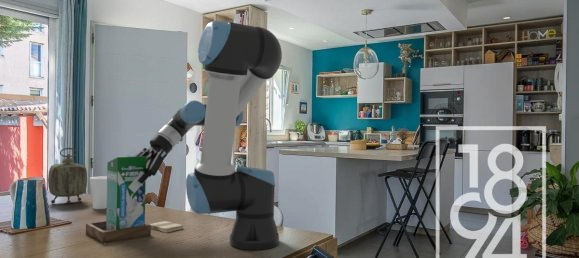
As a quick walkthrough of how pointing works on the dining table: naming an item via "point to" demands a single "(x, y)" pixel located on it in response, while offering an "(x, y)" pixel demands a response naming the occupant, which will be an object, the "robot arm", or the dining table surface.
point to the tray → (115, 232)
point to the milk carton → (125, 193)
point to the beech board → (166, 226)
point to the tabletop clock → (67, 178)
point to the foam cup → (99, 192)
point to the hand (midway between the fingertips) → (122, 187)
